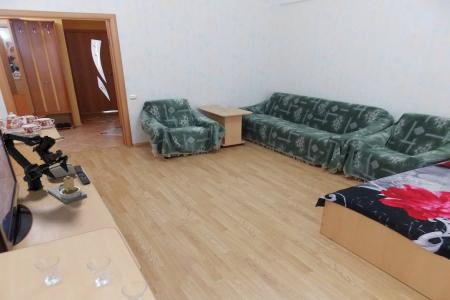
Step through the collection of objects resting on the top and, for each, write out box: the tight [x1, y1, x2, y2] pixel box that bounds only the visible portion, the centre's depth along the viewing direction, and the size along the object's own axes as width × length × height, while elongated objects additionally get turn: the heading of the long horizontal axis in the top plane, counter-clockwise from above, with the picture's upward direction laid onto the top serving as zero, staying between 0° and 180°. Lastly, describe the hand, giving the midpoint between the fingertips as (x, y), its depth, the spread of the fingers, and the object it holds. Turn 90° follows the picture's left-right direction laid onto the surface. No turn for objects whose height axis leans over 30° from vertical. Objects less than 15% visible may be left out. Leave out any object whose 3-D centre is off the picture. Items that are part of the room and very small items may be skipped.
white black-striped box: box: [46, 162, 75, 180], centre depth 191 cm, size 17×5×10 cm, turn 131°
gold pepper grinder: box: [62, 175, 77, 194], centre depth 164 cm, size 7×7×12 cm
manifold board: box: [47, 182, 88, 205], centre depth 168 cm, size 23×12×5 cm, turn 53°
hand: (61, 175), depth 165 cm, fingers open, 9 cm apart
